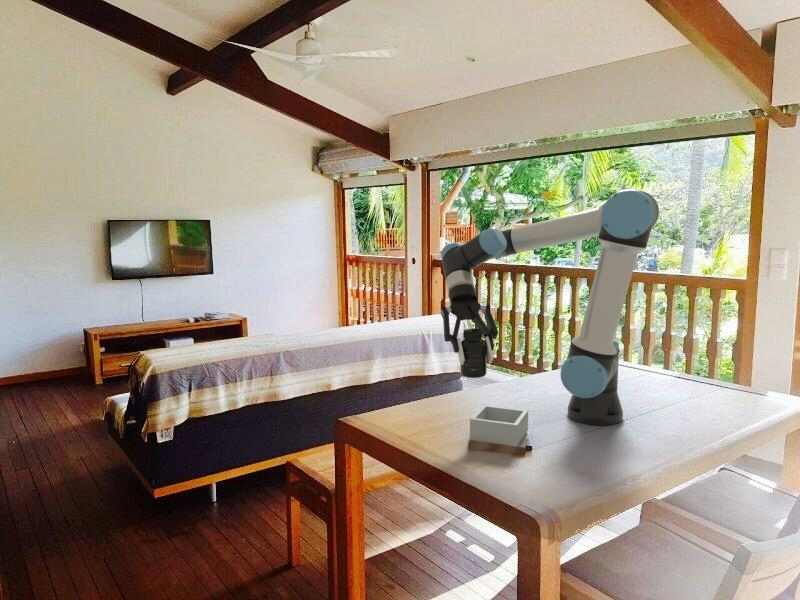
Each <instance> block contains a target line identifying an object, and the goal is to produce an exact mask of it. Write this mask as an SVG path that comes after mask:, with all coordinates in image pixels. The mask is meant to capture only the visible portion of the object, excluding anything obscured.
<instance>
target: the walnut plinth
mask: <svg viewBox="0 0 800 600" xmlns="http://www.w3.org/2000/svg"><path fill="white" fill-rule="evenodd" d="M527 435H528V432H527V433H526V434H525V436H524V437H523V439H522V440H521V441H520V443H519V444H518V446H517V447H515V446H508V445H501V444H494V443H487V442H481V441H474V440H470V438H469V440H468V442H467V450H468V451H479V452H489V453H491V452H493V453H501V454H503V453H504V454H514V455H526V449H527V448H526V447H527V438H526V436H527Z"/></svg>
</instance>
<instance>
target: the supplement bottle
mask: <svg viewBox="0 0 800 600" xmlns="http://www.w3.org/2000/svg"><path fill="white" fill-rule="evenodd" d="M484 340H485V339H484V336H483V335H482V330H481V329H478V328H465V329H464V330H463V339H462V340H461V344H462V349H463V353H464V358H465V360H464V364H463V365H460V364H459V366H460V368H459V369H460V374H461V376H463V377H464V378H469V379H479V378H483V377H485V376H486V375H487V373H488V371H487V367H488V366H487V363H488V362H487V354H486V342H485V341H484Z"/></svg>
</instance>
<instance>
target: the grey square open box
mask: <svg viewBox="0 0 800 600" xmlns="http://www.w3.org/2000/svg"><path fill="white" fill-rule="evenodd" d="M528 432H529V410H527V409H520V408H511V407H505V406H504V407H502V406H495V405H486V404H484V405H482V407H480V408H479V409H478V410H477V411H475V413H474V414H473V415H472V416H471V417H470V419H469V439H470V440H474V441H481V442H487V443H494V444H501V445H508V446H515V447H517V446H518V444H519V443H520V441H521V440H522V439H523V437H524V436H525V434H526V433H527V434H528Z"/></svg>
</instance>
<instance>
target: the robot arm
mask: <svg viewBox="0 0 800 600" xmlns="http://www.w3.org/2000/svg"><path fill="white" fill-rule="evenodd" d="M659 209H660V208H659V204H658V202H657V201H656V199H655V198H654V197H653V196H652V194H650V193H648V192H645V191H643V190H639V189H636V188H626V189H625V188H624V189H621V190H618V191H616V192H615V193H613V194H612V195H610V196H609V198H607V200H606V201H604V202H601V204H600V205H599V207H596V208H592V209H588V210H584V211H583V210H582V211H578V212H574V213H570V214H567V215H563V216H558V217H554V218H549V219H546V220H543V221H537V222H535V223H529V224H526V225H525V224H524V225H521V226H517V227H513V228H509V229H505V230H501V229H499V228H498V227H496V226H491V227H489V228H487V229H484V230H483V231H481V232H480V233H479V234H477V235H475V236H474V237H473V238H471V239H469V240H468V241H467V242H465V243H461V242H453V243H448V244H446V245H444V246H443V248H442V249H441V253H440V256H441V266H442V269H443V272H444V277H445V283H446V288H447V294H448V299H449V306H447V307H446V306H444V305H443V306H442V307H441V310H440V315H441V317H442V321H443V323H442V324H443V337H444V338H443V339H444V342H450V344H451V345H452V349H453V353H455V354H457V355H458V361H459V366H460V365H463V364H464V360H465V358H464V353H463V349H462V344H461V341H462V340H461V339H462V338H461V337H458V335H459V331H460V326H461V321H465V320H468V321H472V323H474V324H475V326H476V327H477V329H481V330H482V335H483V340H484V341H485V342H486V360H487V363H488V364H492V363H493V361H494V354H493V351H494V348H495V345H494V344H495V342H494V340H496V339H497V337H498V335H499V330H498V329H497V325H496V323H495V320H494V317H493V315H492V313H491V308H492V307H491V305H490V304H486V305H481V304H480V302H479V301H478V295H477V292H476V289H475V284H474V280H473V276H472V270H474V269H476V268H477V267H480V266H481V265H482V264H484V263H486V262H487V261H489V260H493V259H498V258H504V257H506V258H507V257H508V256H511V255H516V254H520V253H524V252H531V251H534V250H539V249H544V248H547V247H548V248H549V247H553V246H558V245H561V244H567V243H571V242H576V241H581V240H586V239H590V238H595V237H597V240H598V241H599V243H600V244H601V246H602V247H601V251H600V255H599V259H598V263H597V265H596V266H597V267H596V270H595V273H594V278H593V281H592V285H591V289H590V293H589V297H588V299H587V303H586V308H585V311H584V316H583V320H582V324H581V327H580V332H579V334H578V335H577V336H574V337H573V338H572V339H571V342H570V345H569V348H568V353H567V357H566V359H565V361H564V362H563V364H562V365H561V369H560V375H559V376H560V380H561V383H562V385H563V386H564V388H565V389H566V390H567V391H568V392H569V393H570V394H571V398H570V400H569V402H568V405H567V417H569V418H570V419H571V420H574V421H576V422H578V423H583V424H585V425H586V424H587V425H593V426H610V425H616V424H617V425H618V424H620V423H621V422H622V421H623V420H624V419H623V417H624V411H623V407H622V404H621V400H620V397H619V394H618V385H619V383H618V381H619V362H620V361H619V355H620V343H619V341H617V340H616V339H615V337H616V333H617V330H618V326H619V323H620V319H621V317H622V316H621V315H622V313H623V308H624V304H625V302H626V298H627V297H626V296H627V294H628V289H629V286H630V283H631V281H632V277H633V274H634V273H633V272H634V269H635V265H636V261H637V257H638V254H640V253H642V252H643V251H645V250H646V249H647V246H648V242H649V239H650V235H651V232H652V228H654V226H655V225H656V224H657V222H658V219H659V215H660V210H659ZM480 311H481V312H482V315H483V316H484V318H485V319H484V320H485V321H484V320H483V318H482V317H481V315H480ZM450 313H452V314H453V315H454V316H455V317H456V319H455V323H454V329H453V332H452V334H451V331H450V330H451V329H450ZM485 322H486V323H485Z"/></svg>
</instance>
